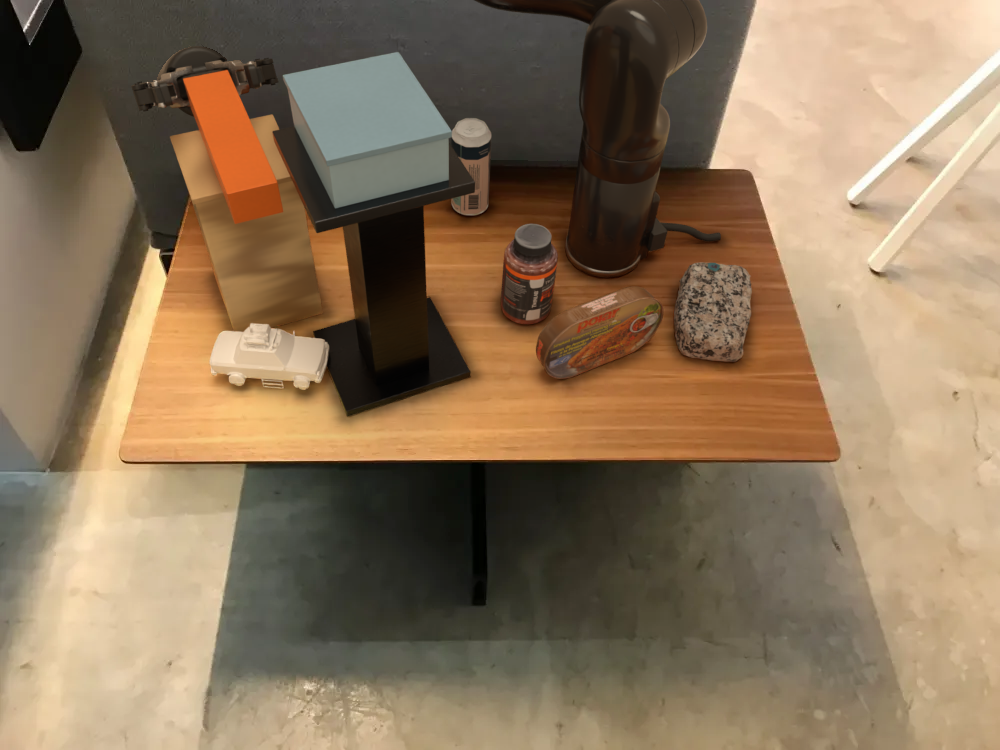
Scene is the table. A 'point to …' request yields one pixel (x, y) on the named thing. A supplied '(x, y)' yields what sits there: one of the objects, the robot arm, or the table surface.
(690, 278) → the rock
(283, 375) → the toy car
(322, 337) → the shelf stand
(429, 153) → the storage tub
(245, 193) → the orange rectangular bar
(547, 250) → the supplement bottle
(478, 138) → the beer can
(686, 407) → the table surface
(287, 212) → the box
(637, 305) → the tin
